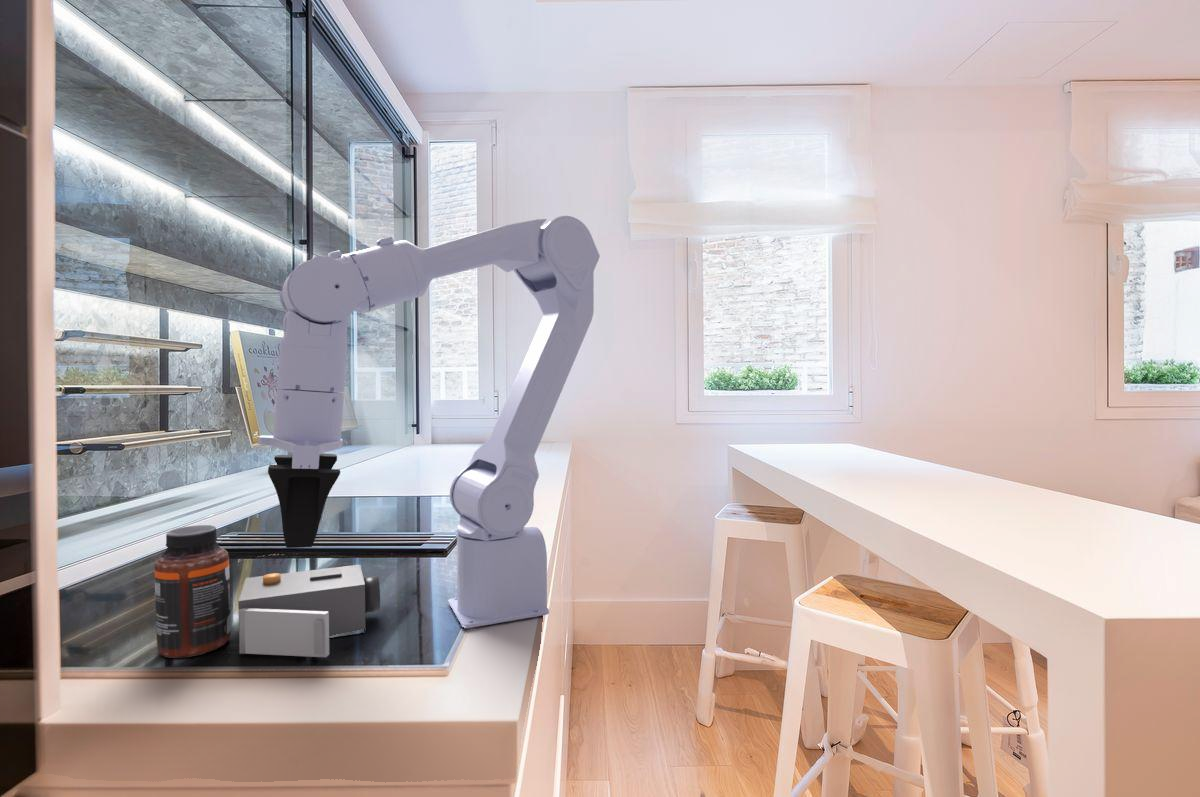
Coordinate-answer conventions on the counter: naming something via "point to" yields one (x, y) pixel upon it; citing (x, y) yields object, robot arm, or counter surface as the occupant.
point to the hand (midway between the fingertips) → (300, 536)
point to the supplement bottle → (192, 593)
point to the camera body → (317, 595)
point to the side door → (284, 632)
